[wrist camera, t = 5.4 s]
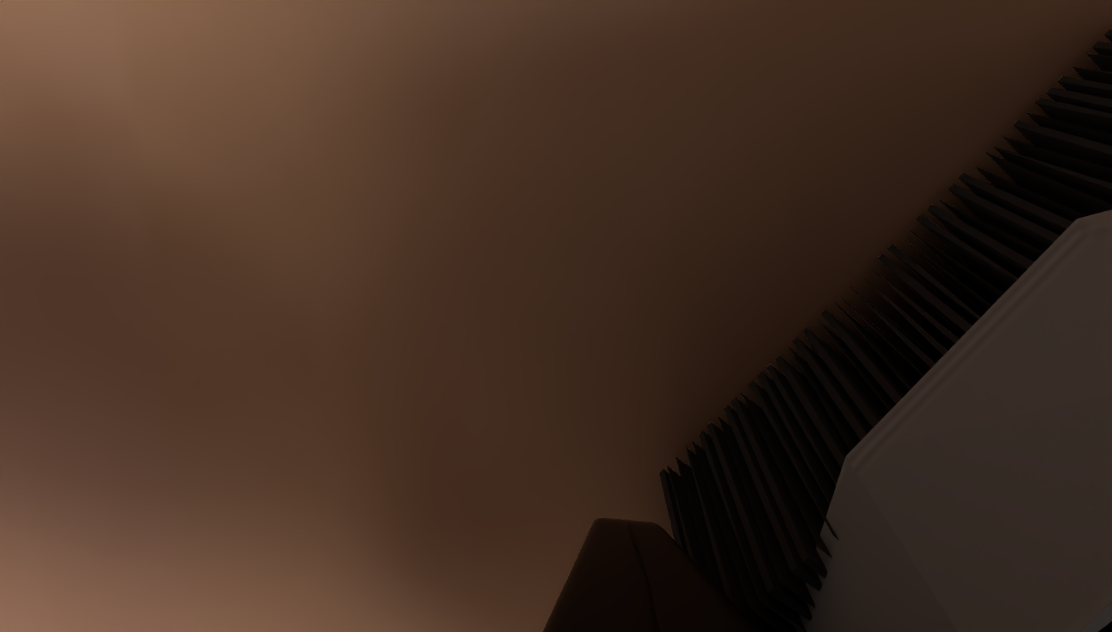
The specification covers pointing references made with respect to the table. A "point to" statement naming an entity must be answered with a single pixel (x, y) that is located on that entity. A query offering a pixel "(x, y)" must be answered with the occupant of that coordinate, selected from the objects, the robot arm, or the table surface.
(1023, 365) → the cpu cooler
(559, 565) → the table surface
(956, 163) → the table surface
